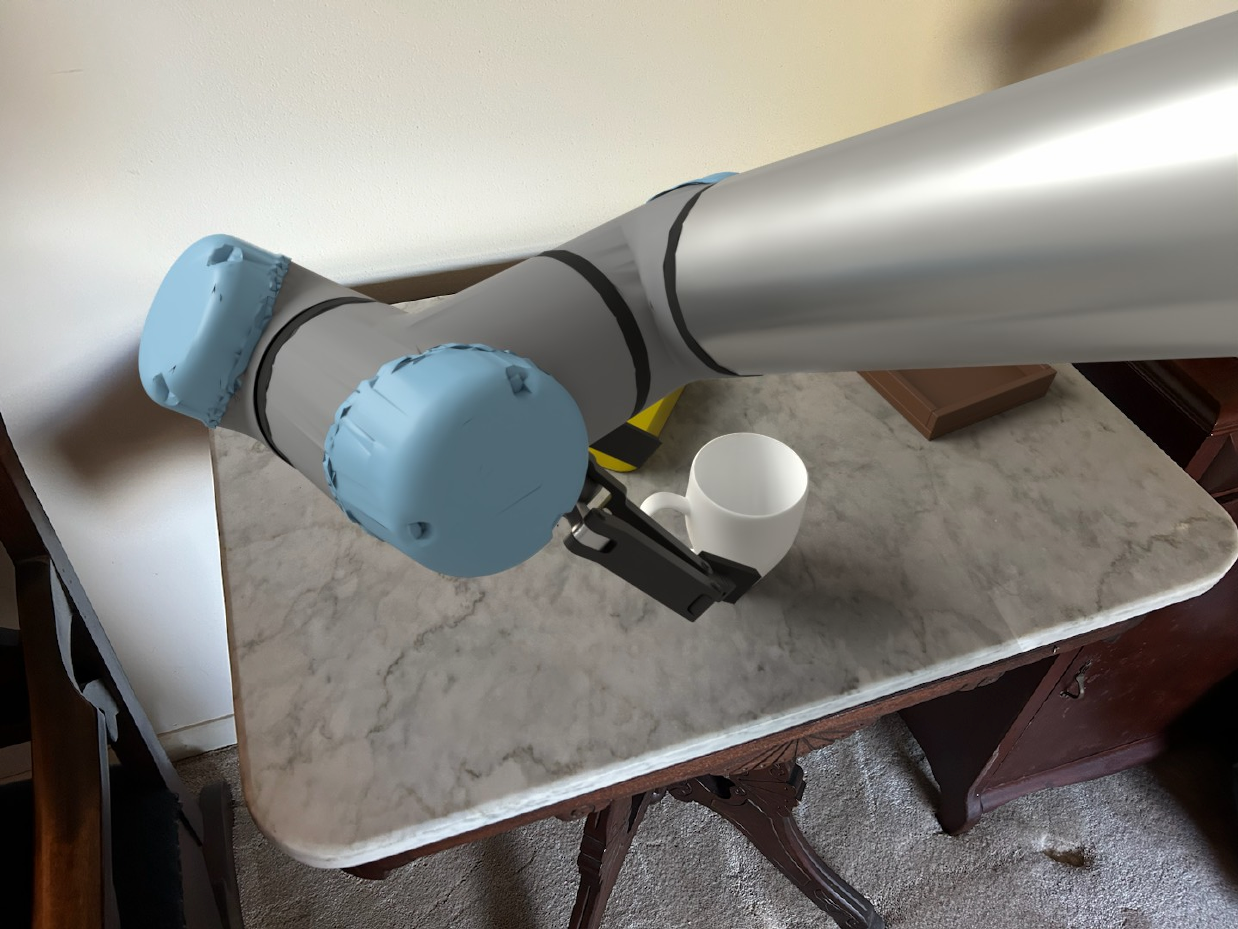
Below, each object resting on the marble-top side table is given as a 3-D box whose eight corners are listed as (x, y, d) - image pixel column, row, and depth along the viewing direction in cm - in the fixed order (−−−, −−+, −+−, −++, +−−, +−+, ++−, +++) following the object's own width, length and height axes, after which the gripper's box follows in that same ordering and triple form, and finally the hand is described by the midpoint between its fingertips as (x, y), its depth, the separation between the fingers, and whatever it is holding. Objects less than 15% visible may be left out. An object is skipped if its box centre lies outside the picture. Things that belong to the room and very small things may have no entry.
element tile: (691, 375, 83) (695, 336, 79) (636, 479, 73) (637, 440, 70) (553, 337, 87) (551, 299, 83) (483, 431, 77) (477, 392, 73)
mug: (766, 523, 70) (788, 424, 62) (799, 606, 65) (828, 509, 56) (624, 543, 68) (627, 444, 60) (646, 630, 63) (652, 534, 55)
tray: (1045, 395, 82) (1058, 371, 80) (928, 441, 77) (937, 417, 75) (925, 297, 92) (933, 274, 90) (815, 332, 88) (821, 309, 86)
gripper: (365, 344, 53) (585, 440, 68) (513, 663, 38) (752, 692, 53) (435, 250, 51) (646, 372, 66) (622, 549, 35) (837, 615, 51)
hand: (693, 515), depth 60 cm, fingers open, 13 cm apart
